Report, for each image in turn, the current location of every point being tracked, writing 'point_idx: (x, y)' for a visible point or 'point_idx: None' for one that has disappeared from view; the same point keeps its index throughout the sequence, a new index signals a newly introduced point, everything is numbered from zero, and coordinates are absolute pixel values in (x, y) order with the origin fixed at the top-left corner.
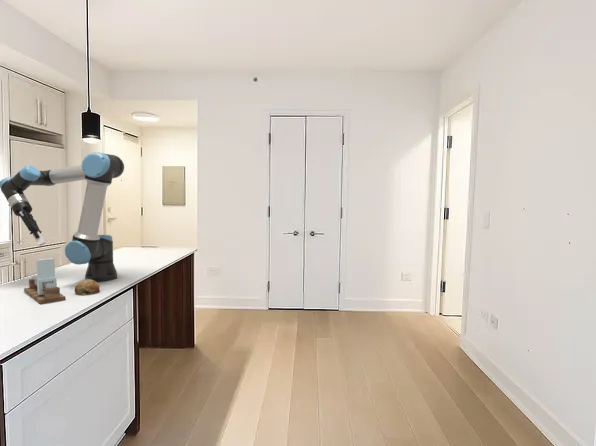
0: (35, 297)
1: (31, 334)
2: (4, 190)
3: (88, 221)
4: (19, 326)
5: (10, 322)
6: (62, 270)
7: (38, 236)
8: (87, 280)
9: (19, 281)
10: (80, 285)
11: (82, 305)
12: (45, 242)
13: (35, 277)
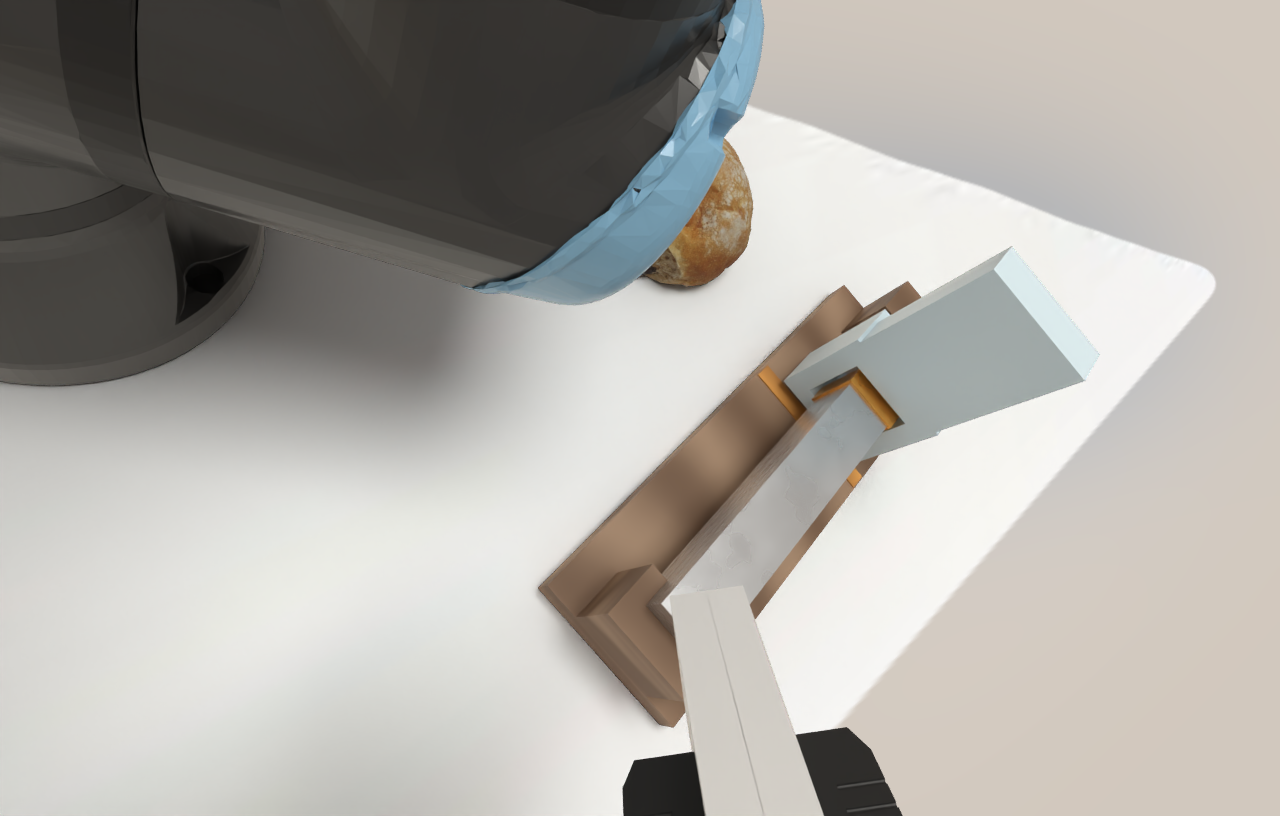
0: (874, 459)
1: (1152, 259)
2: None
3: None
4: (1123, 332)
5: (1108, 389)
6: None
7: (855, 738)
8: (727, 158)
9: None
10: (751, 211)
11: (894, 185)
12: (676, 605)
13: (760, 577)
